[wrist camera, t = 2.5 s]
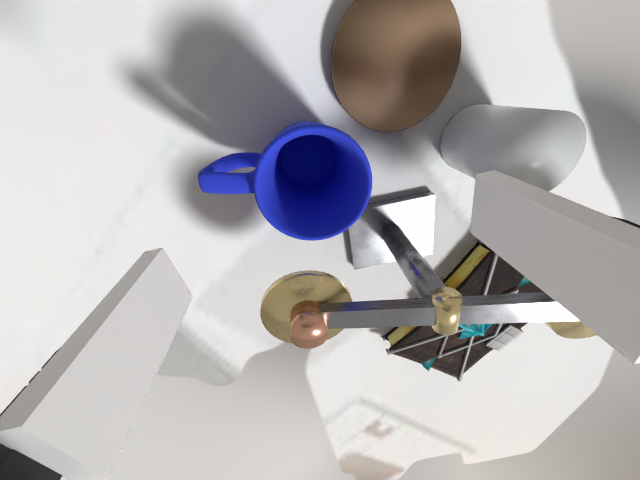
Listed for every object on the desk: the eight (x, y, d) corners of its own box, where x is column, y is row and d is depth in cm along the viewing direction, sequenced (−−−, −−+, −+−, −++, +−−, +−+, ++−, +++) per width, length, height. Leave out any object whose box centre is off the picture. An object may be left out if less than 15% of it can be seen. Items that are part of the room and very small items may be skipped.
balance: (260, 226, 30) (235, 346, 16) (515, 174, 30) (713, 249, 16) (278, 280, 34) (271, 413, 20) (503, 234, 34) (651, 336, 20)
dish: (320, -6, 21) (322, -11, 20) (458, -35, 21) (467, -42, 19) (340, 140, 26) (342, 142, 25) (448, 117, 26) (455, 118, 25)
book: (449, 363, 48) (465, 390, 44) (378, 336, 42) (388, 364, 38) (551, 279, 40) (583, 302, 35) (480, 231, 34) (507, 252, 30)
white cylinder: (442, 111, 26) (507, 121, 18) (506, 97, 26) (599, 101, 18) (438, 174, 29) (492, 206, 21) (495, 162, 29) (570, 190, 21)
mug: (219, 107, 24) (179, 118, 15) (350, 114, 25) (382, 128, 16) (230, 194, 28) (203, 241, 19) (342, 196, 29) (364, 241, 21)
